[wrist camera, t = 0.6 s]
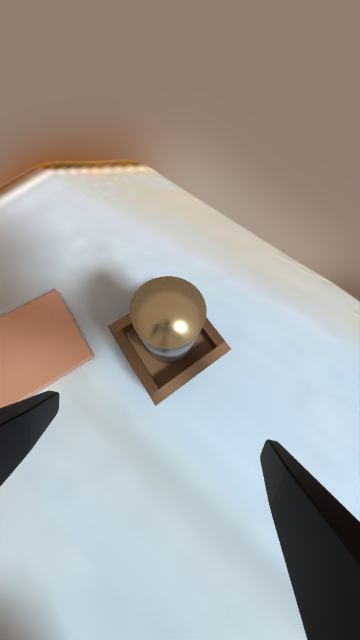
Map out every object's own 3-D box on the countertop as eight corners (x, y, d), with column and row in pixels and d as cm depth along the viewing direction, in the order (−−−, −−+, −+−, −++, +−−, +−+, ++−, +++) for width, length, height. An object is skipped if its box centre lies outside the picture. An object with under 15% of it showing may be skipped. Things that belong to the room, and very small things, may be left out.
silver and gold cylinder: (162, 373, 19) (156, 363, 10) (138, 335, 20) (115, 299, 12) (199, 346, 20) (221, 319, 12) (174, 312, 21) (178, 264, 13)
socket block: (158, 401, 21) (155, 405, 17) (119, 337, 23) (107, 326, 19) (219, 355, 23) (231, 349, 19) (178, 300, 25) (180, 283, 21)
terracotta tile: (9, 410, 20) (-1, 411, 19) (-20, 335, 22) (-30, 332, 21) (95, 356, 22) (91, 355, 21) (60, 294, 25) (55, 289, 23)
